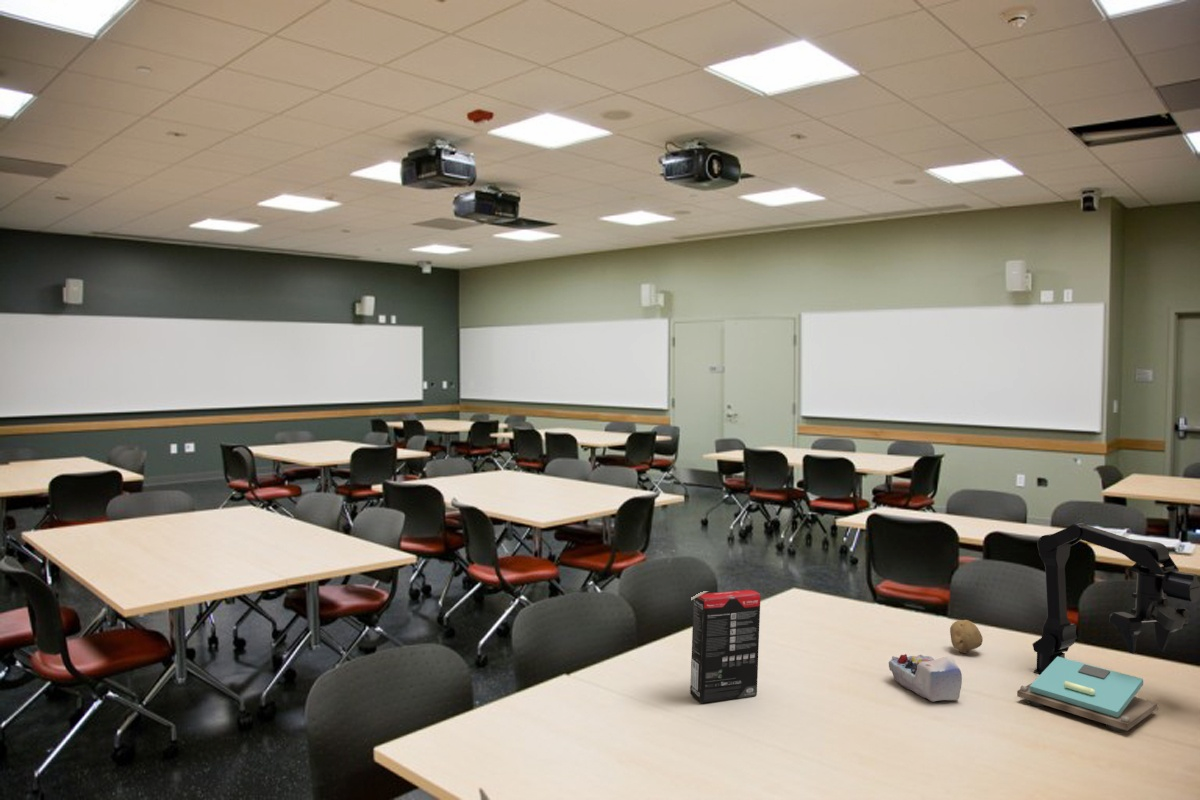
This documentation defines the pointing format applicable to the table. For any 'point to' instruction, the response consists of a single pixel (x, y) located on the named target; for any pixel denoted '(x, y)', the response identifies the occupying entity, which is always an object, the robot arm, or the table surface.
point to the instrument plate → (1087, 686)
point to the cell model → (928, 676)
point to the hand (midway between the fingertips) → (1146, 652)
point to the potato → (965, 636)
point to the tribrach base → (1126, 720)
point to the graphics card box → (725, 645)
